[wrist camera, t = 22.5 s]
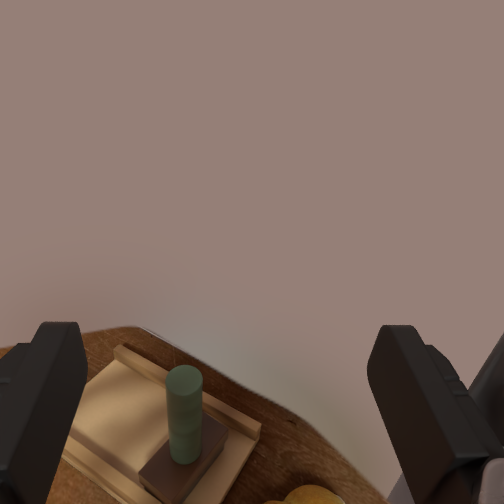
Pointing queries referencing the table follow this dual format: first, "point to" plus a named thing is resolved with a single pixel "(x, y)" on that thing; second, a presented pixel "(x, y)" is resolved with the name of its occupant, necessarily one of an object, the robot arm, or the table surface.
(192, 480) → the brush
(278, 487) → the table surface
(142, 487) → the tray
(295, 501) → the bread roll
